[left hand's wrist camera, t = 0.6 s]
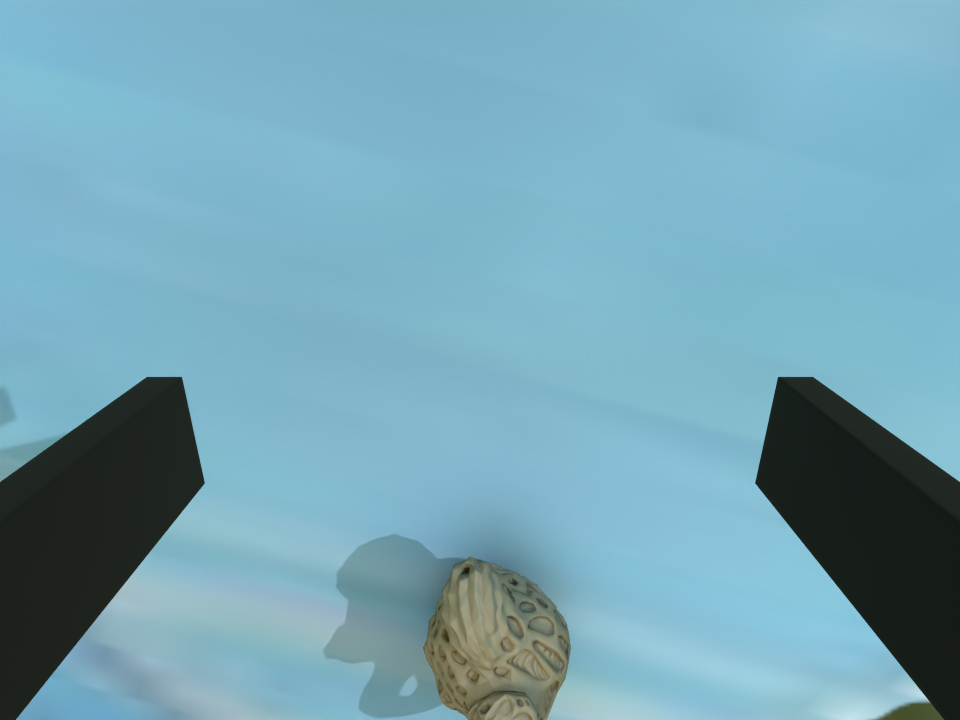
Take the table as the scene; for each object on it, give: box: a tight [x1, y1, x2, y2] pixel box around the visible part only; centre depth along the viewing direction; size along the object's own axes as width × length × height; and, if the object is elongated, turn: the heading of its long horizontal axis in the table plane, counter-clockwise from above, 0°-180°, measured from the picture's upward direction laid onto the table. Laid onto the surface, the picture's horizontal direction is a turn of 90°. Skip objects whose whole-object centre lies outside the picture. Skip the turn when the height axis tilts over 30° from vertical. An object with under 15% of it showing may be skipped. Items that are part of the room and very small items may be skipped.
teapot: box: [423, 557, 571, 720], centre depth 43 cm, size 21×12×15 cm, turn 11°
